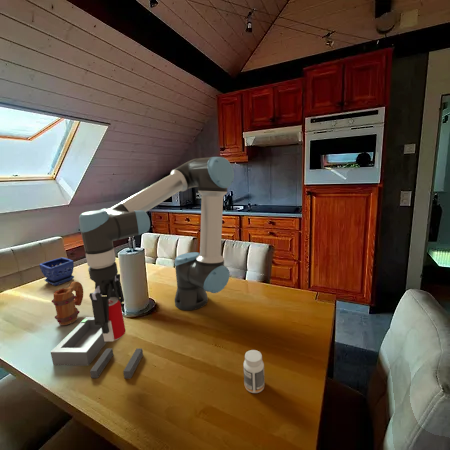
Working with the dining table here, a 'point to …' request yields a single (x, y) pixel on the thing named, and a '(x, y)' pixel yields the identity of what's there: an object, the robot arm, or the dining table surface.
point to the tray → (79, 345)
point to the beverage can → (116, 318)
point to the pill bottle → (253, 371)
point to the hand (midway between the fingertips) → (114, 333)
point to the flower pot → (57, 270)
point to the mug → (68, 303)
